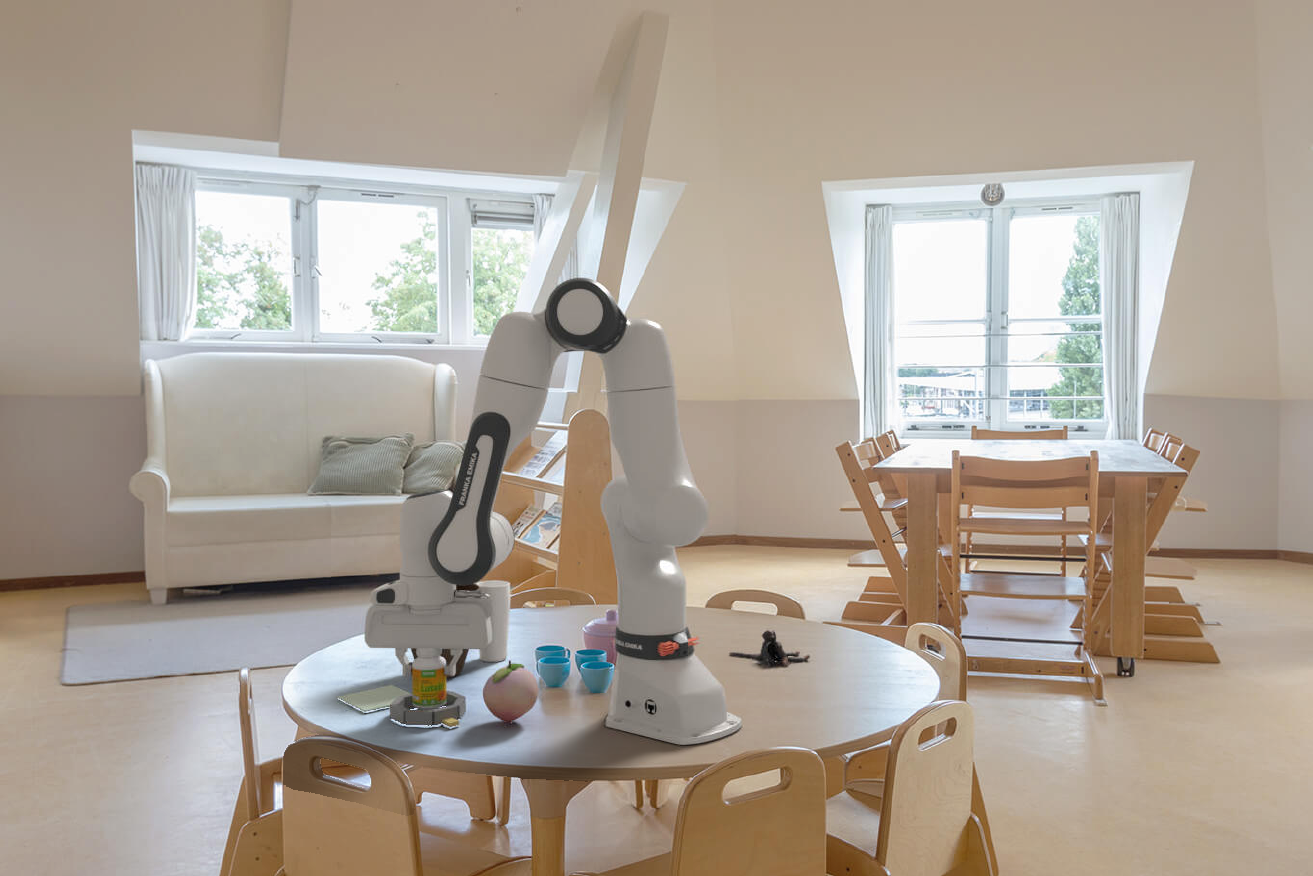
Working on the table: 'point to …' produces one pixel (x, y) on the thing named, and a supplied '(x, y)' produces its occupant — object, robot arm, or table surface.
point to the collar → (429, 711)
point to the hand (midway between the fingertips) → (429, 674)
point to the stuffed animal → (772, 652)
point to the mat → (373, 698)
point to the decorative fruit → (510, 692)
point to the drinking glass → (497, 619)
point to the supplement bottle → (428, 679)
